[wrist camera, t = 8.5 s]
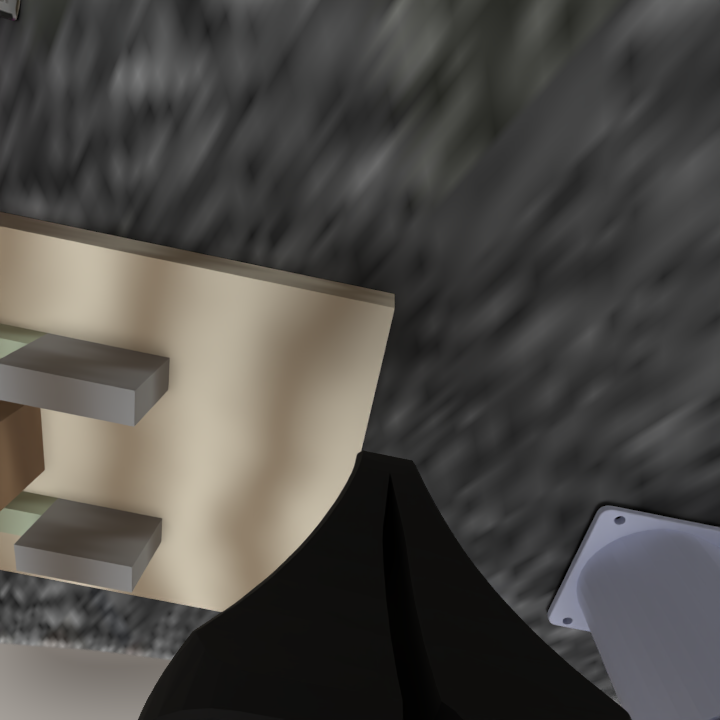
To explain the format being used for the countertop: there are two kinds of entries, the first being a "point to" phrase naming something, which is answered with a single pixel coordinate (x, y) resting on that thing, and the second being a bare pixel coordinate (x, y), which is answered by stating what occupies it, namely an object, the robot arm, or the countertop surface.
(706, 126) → the countertop surface
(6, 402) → the walnut block
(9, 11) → the candy bar box
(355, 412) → the board
